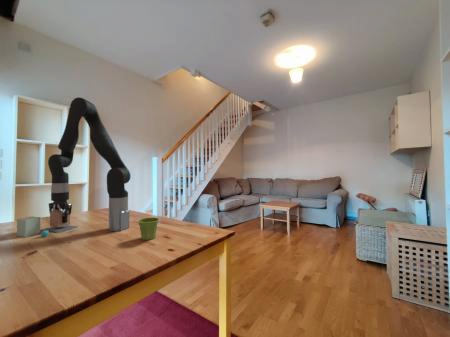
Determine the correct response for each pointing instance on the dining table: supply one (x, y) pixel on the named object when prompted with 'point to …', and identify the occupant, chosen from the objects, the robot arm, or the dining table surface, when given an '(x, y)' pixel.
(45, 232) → the teal marble
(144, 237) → the plant pot
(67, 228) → the slate mat
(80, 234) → the dining table surface
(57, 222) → the brown block
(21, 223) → the pale green block
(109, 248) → the dining table surface
